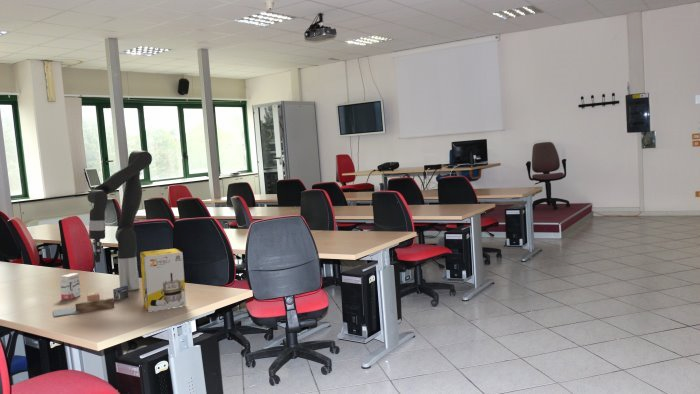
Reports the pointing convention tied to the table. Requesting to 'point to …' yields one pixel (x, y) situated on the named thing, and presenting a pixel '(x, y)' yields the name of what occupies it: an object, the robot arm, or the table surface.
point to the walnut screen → (94, 305)
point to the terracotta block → (93, 297)
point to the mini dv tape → (120, 293)
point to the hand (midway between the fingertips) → (96, 261)
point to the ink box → (70, 286)
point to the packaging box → (163, 279)
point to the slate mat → (65, 312)
